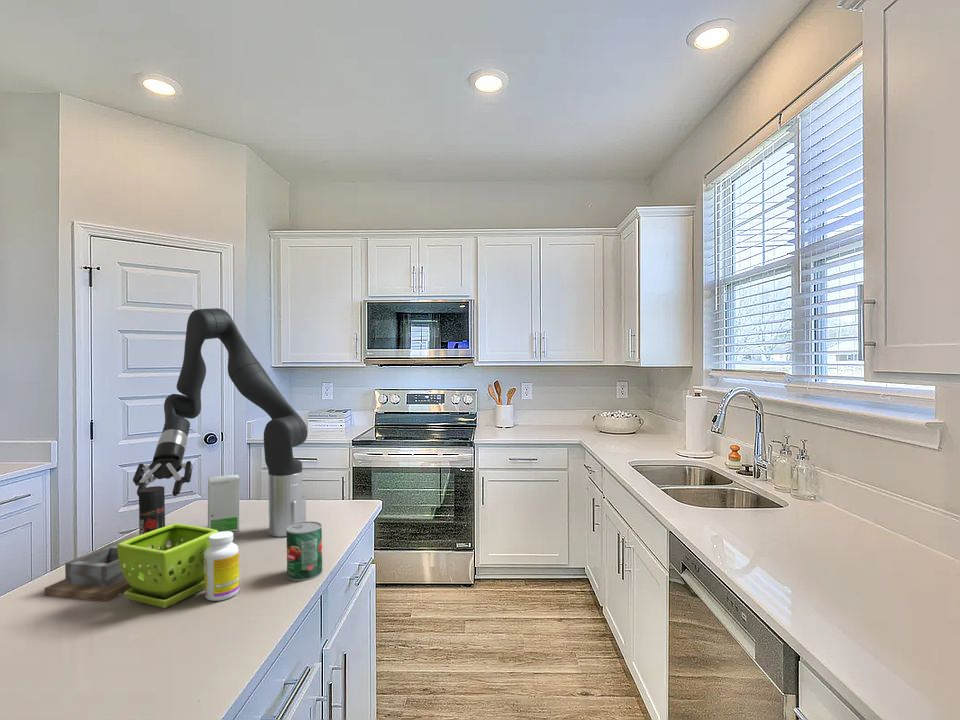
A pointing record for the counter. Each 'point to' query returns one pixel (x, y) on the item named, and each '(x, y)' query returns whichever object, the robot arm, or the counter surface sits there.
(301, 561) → the canned tomato
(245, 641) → the counter surface
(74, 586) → the jig
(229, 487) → the skincare box
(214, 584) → the supplement bottle
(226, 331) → the robot arm
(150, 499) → the deodorant
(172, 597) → the flower pot
